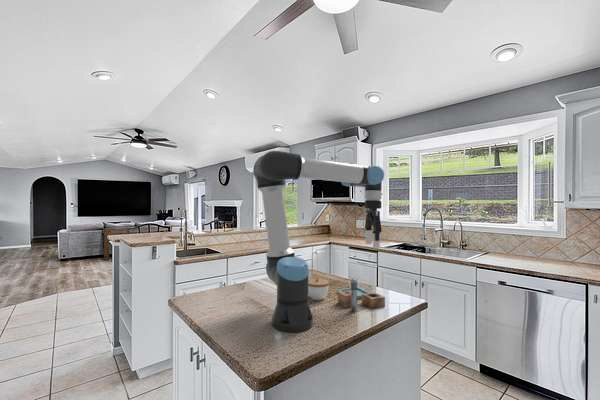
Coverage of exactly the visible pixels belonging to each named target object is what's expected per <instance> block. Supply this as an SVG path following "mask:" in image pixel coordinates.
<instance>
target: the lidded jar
mask: <svg viewBox="0 0 600 400" xmlns="http://www.w3.org/2000/svg"><path fill="white" fill-rule="evenodd" d="M329 283H330V282H329V280H327V279H324V278H319V277H316V278H311V279H310V278H308V297H309V298H310V299H311V300H313V301H323V300H324V299H325V298H326V296H327V295H328V292H329V287H330V286H329Z"/></svg>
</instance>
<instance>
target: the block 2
mask: <svg viewBox="0 0 600 400" xmlns="http://www.w3.org/2000/svg"><path fill="white" fill-rule="evenodd" d="M361 304H363V305H365V306H366V307H368V308H369V309H377V308H382V307H385V306H386V297H385V296H384V295H381V294H379V293H377V292H370V293H366V294H362V299H361Z"/></svg>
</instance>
